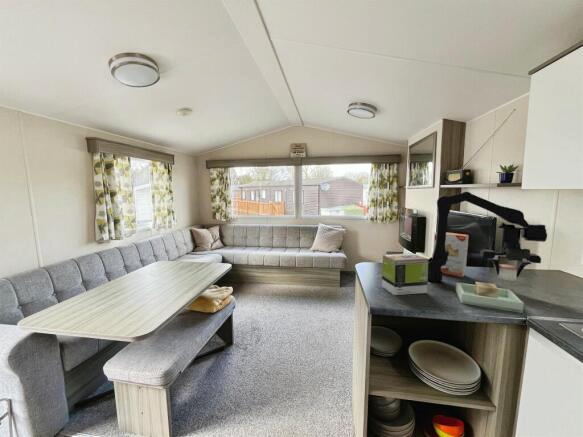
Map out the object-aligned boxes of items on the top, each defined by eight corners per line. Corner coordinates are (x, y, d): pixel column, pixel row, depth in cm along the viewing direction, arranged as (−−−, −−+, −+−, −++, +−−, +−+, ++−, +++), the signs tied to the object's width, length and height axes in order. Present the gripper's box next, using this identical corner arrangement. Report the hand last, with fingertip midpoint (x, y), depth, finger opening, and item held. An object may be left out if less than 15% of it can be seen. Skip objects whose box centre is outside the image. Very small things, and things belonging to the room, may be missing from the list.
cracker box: (431, 271, 135) (434, 232, 133) (435, 269, 139) (438, 231, 137) (462, 278, 125) (465, 235, 122) (465, 275, 129) (469, 234, 127)
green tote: (461, 302, 96) (461, 294, 95) (455, 290, 108) (456, 282, 108) (522, 313, 88) (523, 303, 88) (509, 298, 101) (510, 289, 100)
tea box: (411, 285, 114) (413, 252, 113) (427, 293, 104) (429, 258, 103) (380, 286, 112) (382, 253, 110) (393, 296, 102) (395, 259, 100)
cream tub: (499, 279, 106) (501, 267, 106) (495, 275, 112) (497, 263, 111) (518, 281, 104) (519, 269, 103) (513, 277, 109) (514, 265, 109)
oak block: (477, 299, 97) (478, 286, 96) (474, 293, 102) (475, 281, 102) (497, 302, 94) (498, 289, 94) (492, 296, 100) (494, 284, 99)
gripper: (488, 240, 103) (484, 278, 104) (549, 245, 95) (545, 285, 96) (481, 236, 113) (478, 270, 114) (536, 240, 105) (532, 277, 106)
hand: (506, 275), depth 108 cm, fingers closed on cream tub, 6 cm apart
